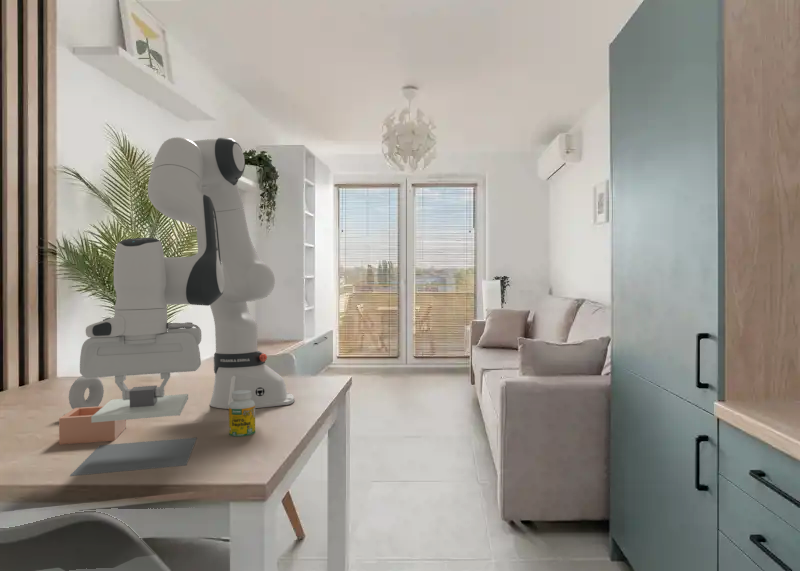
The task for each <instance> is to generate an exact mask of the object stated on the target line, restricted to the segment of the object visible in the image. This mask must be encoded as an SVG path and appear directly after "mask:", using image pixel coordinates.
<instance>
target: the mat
mask: <svg viewBox="0 0 800 571" xmlns="http://www.w3.org/2000/svg"><path fill="white" fill-rule="evenodd" d="M197 439H198V438H197V437H188V438H176V439H175V438H174V439H163V440H153V441H152V440H149V441H138V442H135V441H134V442H124V443H113V444H101V445H98V447H96V448H95V450H93V451H92V453H90V454H89V456H87V457H86V459H84V460H83V462H82V463H81V464H80V465H78V467H76V469H74V471H73V472H72V473H71V474H70V475H69V477H76V476H86V475H96V474H98V475H99V474H108V473H117V472H118V473H120V472H128V471H138V470H139V471H141V470H151V469H153V470H154V469H162V468H173V467H184V466H187V465H188V462H189V459H190V457H191V454H192V451H193V449H194V446H195V444H196V441H197Z"/></svg>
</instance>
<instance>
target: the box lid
mask: <svg viewBox="0 0 800 571" xmlns="http://www.w3.org/2000/svg"><path fill="white" fill-rule="evenodd" d="M156 387H158V386H157V385H146V386H144V385H142V386H134V387H132V388H130V389H131V390H130V391H129V395H130V400H123V399H122V398H115V399H110V400H109V401H108V402H107V403H105V405H102V406H103V407H102V408H101V409H100V410H99V411H98V412H96V413H95V414H94V415H93V416H92V417H91V423H93V422H105V421H117V420H126V421H127V420H128V421H129V420H139V419H150V418H162V417H163V418H165V417H173V416H175V417H176V416H180V415H181V413H182V412H183V410H184V408H185V405H186V404H187V403H188V400H189V393H183V394H168V395H164V397H160V398H155V392H154V389H155V388H156Z"/></svg>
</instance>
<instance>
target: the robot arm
mask: <svg viewBox="0 0 800 571" xmlns="http://www.w3.org/2000/svg"><path fill="white" fill-rule="evenodd" d="M245 162H246V160H245V155H244V152H243V150H242V148H241V146H240V144H239V143H238V142H237V141H236V140H235V139H233V138H229V137H218V138H211V139H198V140H193V141H192V140H190V139H188V138H185V137H180V136H179V137H178V136H175V137H171V138H168V139H166V140H165V141H163V143H162V144H161V145H160V147H159V148H158V151H157V153H156V155H155V157H154V160H153V163H152V166H151V170H150V174H149V178H148V184H147V196H148V199H149V201H150V202H151V204H152V206H153V207H154V208H155V209H156V210H157V211H158V212H159V213H160V214H162V215H164V216H165V217H167V218H169V219H171V220H174V221H179V222H183V223H185V224H188V225H190V226H193V227H194V228H196V240H197V253H196V254H194V255H192V256H179V257H178V256H171V257H169V256H168V257H167V256H166V257H165V255H164V253H165V252H164V248H163V244H162V241H161V240H160V239H157V238H154V237H136V238H125V239H122V240H120V241H118V242H117V245H116V248H115V254H114V260H113V288H114V291H115V296H116V300H115V305H114V315H113V317H107V318H105V319H102V320H101V321H98V322H94V323H92V324H89V325H87V326H86V327H85V335H86V337H87V338H88V339H86V340H85V341H84V342H83V344H82V346H81V349H80V350H81V351H80V357H79V373H80V375H81V376H83V377H84V378H97V377H98V378H108V377H109V378H111V377H114V383H115V385H116V386H117V387H118V388H119V390H120V392H121V393H122V394H121V399H123V400H130V395H129V391H130V390H131V389H132V388H128V387H127V385H126V382H125V380H126V379H127V376H140V375H143V376H144V375H155V374H160V380H163V381H162V382H161V384H160V385H159V386H157V387H156V388H155V389H154V392H155V398H160V397H164V396H165V387H166V386H167V383H168V382H169V380H170V378H171V374H172V373H183V372H184V373H185V372H186V373H187V372H188V373H189V372H196V371H197V370H199V368H200V367H201V364H202V362H201V359H202V358H201V352H200V347H199V345H200V343H201V341H202V329H201V328H200V327H199V325H196V324H194V323H193V322H191V321H190V322H168V305H173V306H174V305H192V306H205V307H206V306H207V307H208V306H209V307H210V309H211V313H212V316H213V322H214V328H215V329H214V332H215V333H214V334H215V336H214V337H215V352H214V354H213V371H214V372H213V373H214V384H213V390H212V395H211V399H210V403H209V406H211V407H213V408H218V409H226V410H229V404H230V403H231V402H232V401H233V399H232V392H234V391H238V390H250V391H251V395H252V396H251V398H250V400H253V401H254V403H255V409H259V408H269V407H271V408H272V407H278V406H288V405H291V404H293V403H294V402H295V396H294V394H292V393H290V392H288V391H287V387H286V382H285V379H284V377H282V376H281V375H280V374H279V373H278V372H276V371H275V370H274V369H272V368H271V367H269V365H267V364H265V363H266V361H267V360H268V359H267V358H268V356H267V354H266V353H263V352H262V351H260V350H258V349H259V348H258V323H257V321H256V320H255V318H254V317H253V316H252V314H251V312H250V310H249V308H248V305H247V303H248V302H256V301H260V300H262V299H265V298H267V297H268V296H269V295H271V293H272V292H273V290H274V288H275V284H276V282H275V281H276V280H275V275H274V272H273V270H272V269H271V267H270V266H269V265H267V264H266V263H265V262H264V260H262V259H261V257H260V256H259V254H258V251H257V250H256V249H255V248H256V247H255V246H254V245H253V242H252V239H251V237H250V233H249V228H248V223H247V219H246V214H245V213H246V212H245V208H244V202H243V199H242V195H241V193H240V189H239V186H238V182H239V180H240V178H242V176H243V173H244V172H245V167H246V163H245Z"/></svg>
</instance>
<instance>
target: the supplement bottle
mask: <svg viewBox="0 0 800 571" xmlns="http://www.w3.org/2000/svg"><path fill="white" fill-rule="evenodd" d="M251 396H252V395H251V391H250V390H238V391H234V392H232V399H233V401H232V402H231V403H230V404H229V409H228V433H229V436H232V437H247V436H251V435H254V434H256V408H255V403H254V401H253V400H250V398H251Z"/></svg>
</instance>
